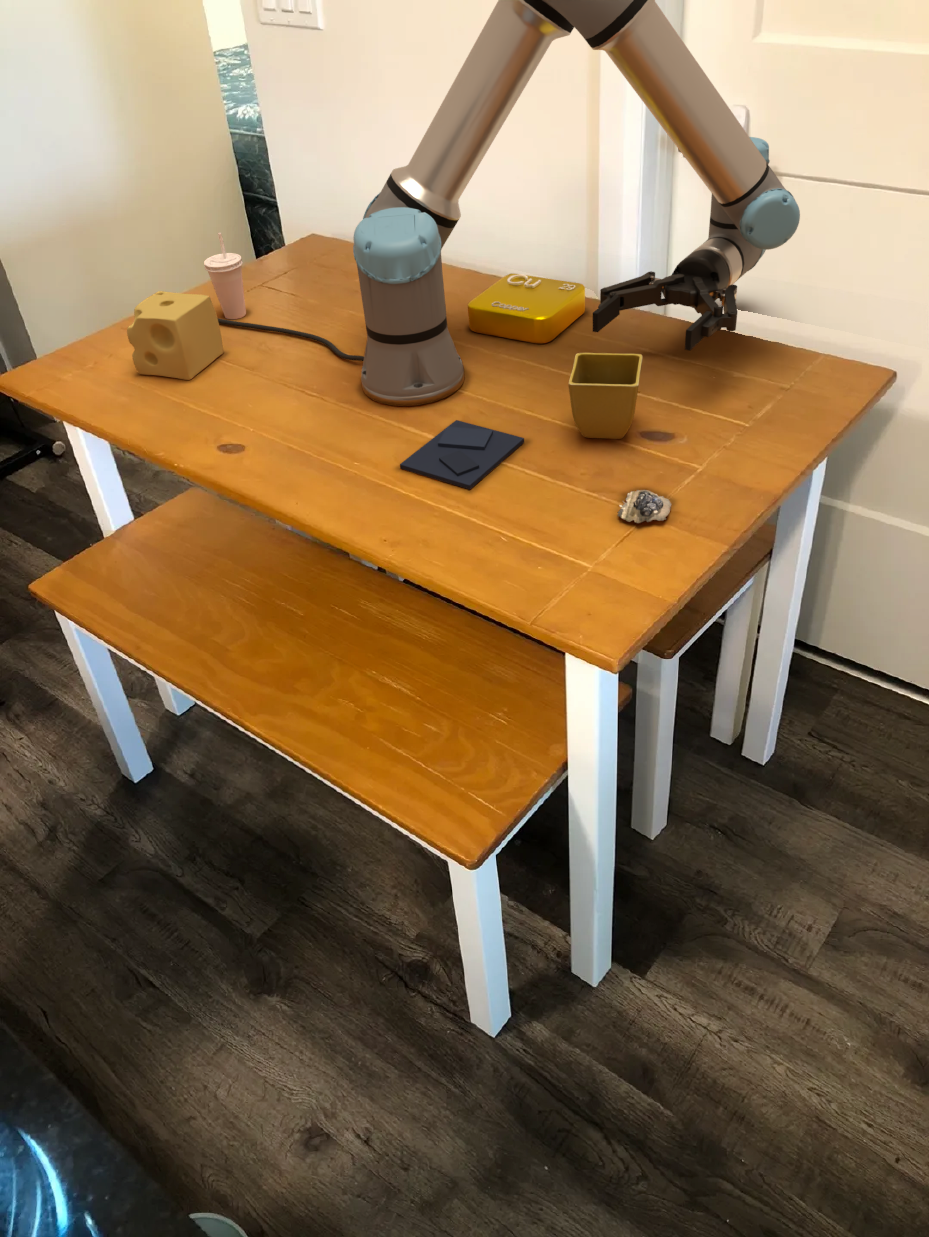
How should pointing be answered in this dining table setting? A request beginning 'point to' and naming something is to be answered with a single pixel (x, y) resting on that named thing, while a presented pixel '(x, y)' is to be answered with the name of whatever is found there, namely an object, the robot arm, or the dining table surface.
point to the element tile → (527, 308)
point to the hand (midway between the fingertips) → (640, 331)
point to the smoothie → (227, 281)
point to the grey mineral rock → (644, 507)
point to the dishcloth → (462, 454)
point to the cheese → (175, 335)
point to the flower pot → (604, 393)
